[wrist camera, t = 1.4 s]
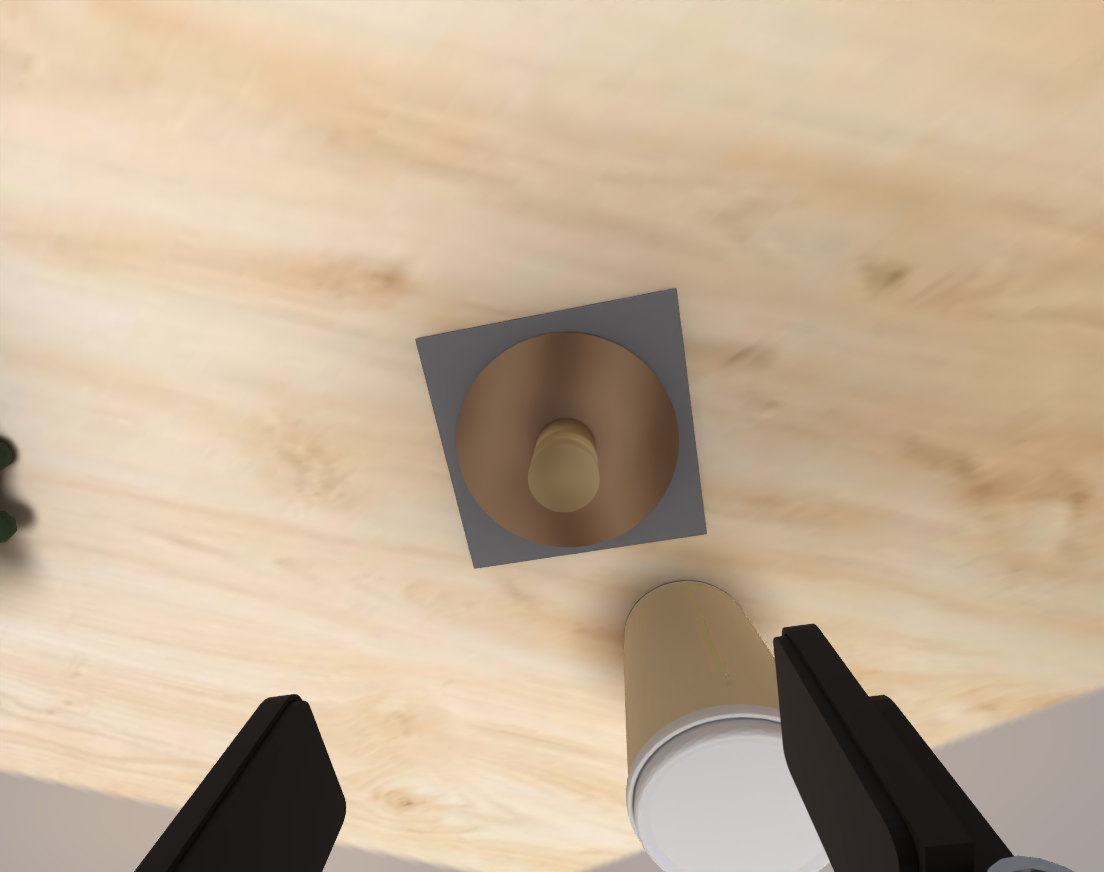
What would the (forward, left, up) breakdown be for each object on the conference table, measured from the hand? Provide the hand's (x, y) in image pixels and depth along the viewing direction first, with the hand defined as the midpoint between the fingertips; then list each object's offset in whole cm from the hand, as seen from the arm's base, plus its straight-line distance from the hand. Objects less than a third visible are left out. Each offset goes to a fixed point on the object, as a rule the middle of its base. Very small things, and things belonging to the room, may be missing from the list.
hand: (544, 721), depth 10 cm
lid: (0, 0, -20) cm, 20 cm away
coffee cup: (-5, +14, -21) cm, 25 cm away
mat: (0, 0, -20) cm, 20 cm away
